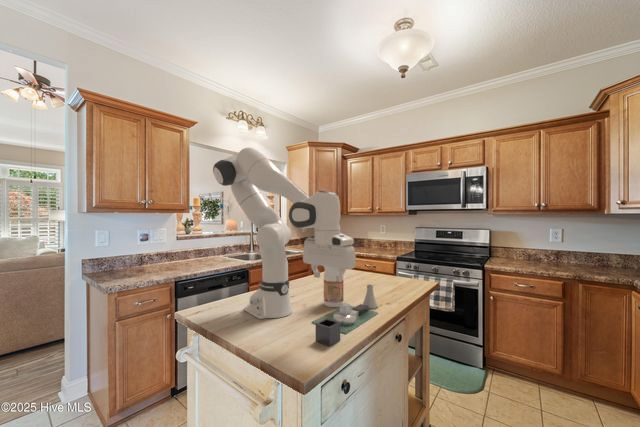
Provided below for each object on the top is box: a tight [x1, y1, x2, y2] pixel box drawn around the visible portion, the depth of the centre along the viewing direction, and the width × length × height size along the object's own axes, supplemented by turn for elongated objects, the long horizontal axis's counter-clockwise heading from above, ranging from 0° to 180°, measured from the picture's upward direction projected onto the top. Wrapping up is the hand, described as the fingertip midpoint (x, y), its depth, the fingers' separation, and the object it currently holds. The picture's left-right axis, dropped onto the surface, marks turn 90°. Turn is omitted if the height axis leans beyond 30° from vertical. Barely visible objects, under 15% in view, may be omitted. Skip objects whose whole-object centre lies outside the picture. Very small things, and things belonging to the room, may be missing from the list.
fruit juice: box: [323, 266, 345, 308], centre depth 129 cm, size 9×9×28 cm
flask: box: [362, 283, 379, 310], centre depth 126 cm, size 7×7×10 cm
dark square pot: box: [315, 318, 341, 348], centre depth 92 cm, size 6×6×6 cm
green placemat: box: [311, 302, 379, 335], centre depth 112 cm, size 16×25×7 cm, turn 141°
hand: (327, 279), depth 92 cm, fingers open, 8 cm apart
